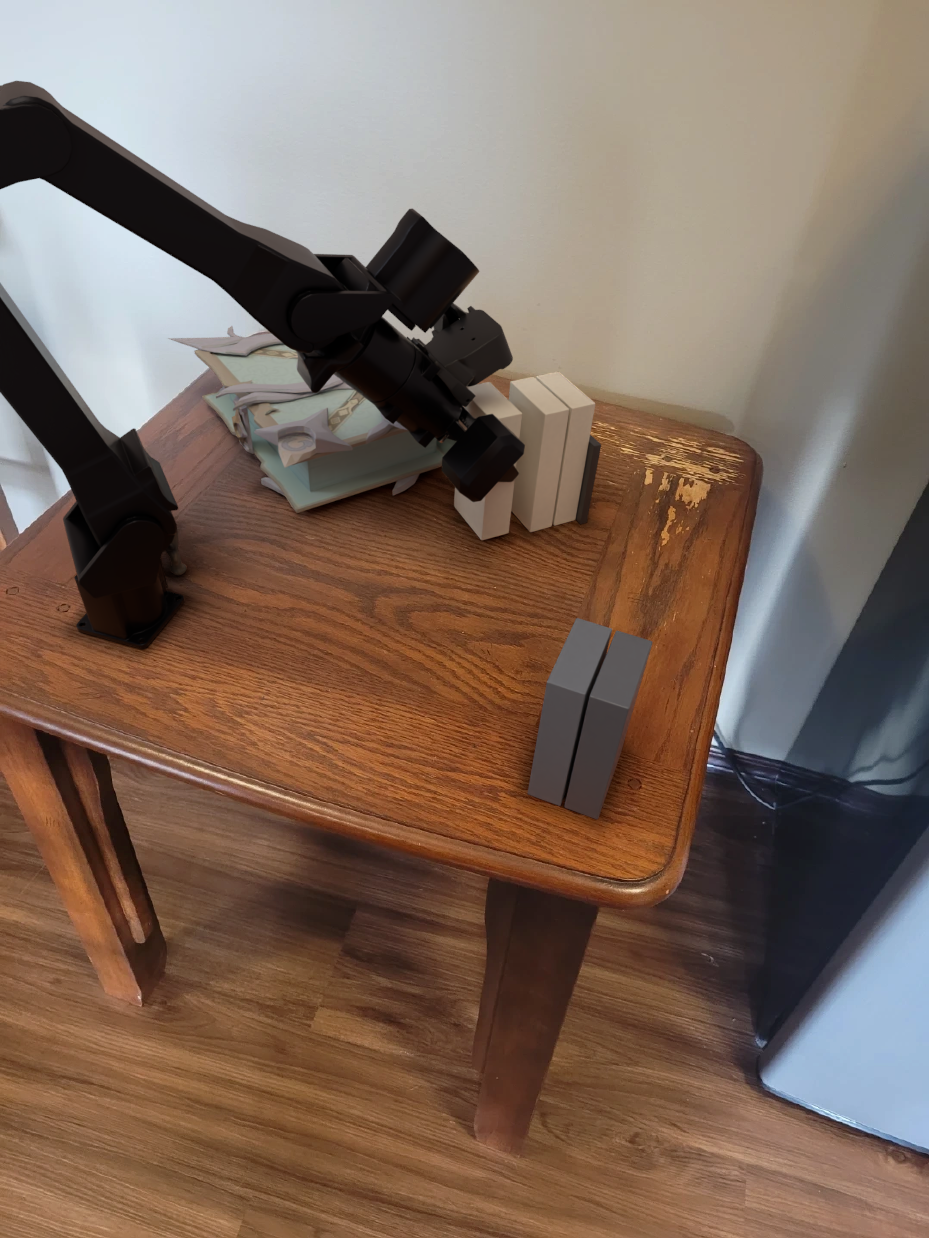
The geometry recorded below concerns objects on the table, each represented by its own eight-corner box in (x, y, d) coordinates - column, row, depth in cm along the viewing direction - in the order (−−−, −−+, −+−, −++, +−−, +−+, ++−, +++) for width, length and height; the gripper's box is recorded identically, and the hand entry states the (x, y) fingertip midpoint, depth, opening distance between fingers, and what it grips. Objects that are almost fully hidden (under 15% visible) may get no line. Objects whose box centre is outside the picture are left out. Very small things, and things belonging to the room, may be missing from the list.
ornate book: (481, 480, 91) (348, 354, 107) (489, 400, 84) (346, 279, 100) (286, 546, 81) (173, 397, 98) (277, 462, 74) (158, 317, 91)
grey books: (527, 794, 61) (546, 681, 52) (554, 730, 65) (576, 617, 57) (597, 820, 59) (629, 709, 51) (620, 753, 64) (653, 640, 56)
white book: (481, 540, 81) (491, 419, 72) (453, 506, 85) (460, 387, 76) (508, 533, 82) (522, 413, 73) (480, 499, 86) (489, 381, 77)
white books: (534, 537, 82) (550, 419, 73) (495, 493, 87) (505, 377, 78) (587, 522, 84) (608, 405, 76) (546, 480, 90) (562, 365, 81)
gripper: (514, 340, 60) (616, 444, 71) (406, 246, 72) (509, 349, 83) (410, 459, 62) (525, 541, 74) (323, 349, 74) (433, 435, 86)
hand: (498, 459), depth 79 cm, fingers closed on white book, 6 cm apart
